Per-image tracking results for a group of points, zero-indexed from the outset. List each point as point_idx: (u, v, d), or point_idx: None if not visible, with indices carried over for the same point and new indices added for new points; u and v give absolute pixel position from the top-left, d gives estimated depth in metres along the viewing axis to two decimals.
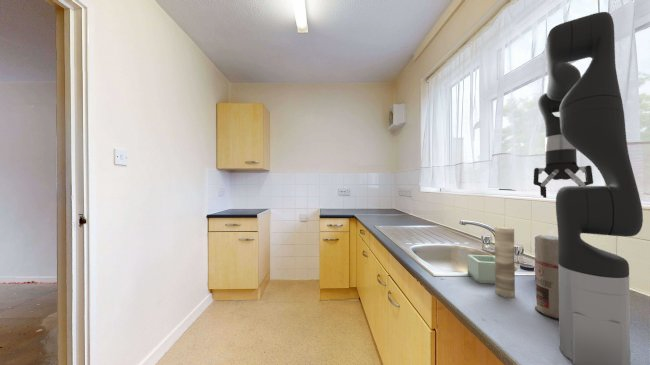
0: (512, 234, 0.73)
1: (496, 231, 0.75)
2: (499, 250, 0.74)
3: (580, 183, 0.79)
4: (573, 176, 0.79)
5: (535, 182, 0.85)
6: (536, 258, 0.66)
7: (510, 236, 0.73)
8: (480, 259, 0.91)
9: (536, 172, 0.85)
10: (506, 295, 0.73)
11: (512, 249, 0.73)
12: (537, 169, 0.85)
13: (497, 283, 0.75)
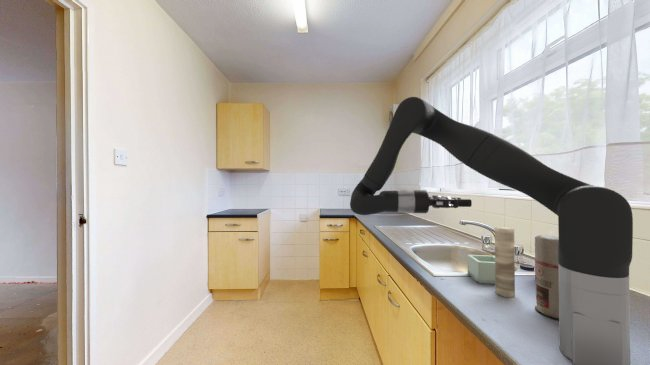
0: (512, 234, 0.73)
1: (496, 231, 0.75)
2: (500, 250, 0.74)
3: None
4: None
5: (454, 199, 0.72)
6: (536, 258, 0.66)
7: (510, 236, 0.73)
8: (480, 259, 0.91)
9: (441, 199, 0.73)
10: (506, 295, 0.73)
11: (512, 249, 0.73)
12: (437, 198, 0.73)
13: (497, 283, 0.75)
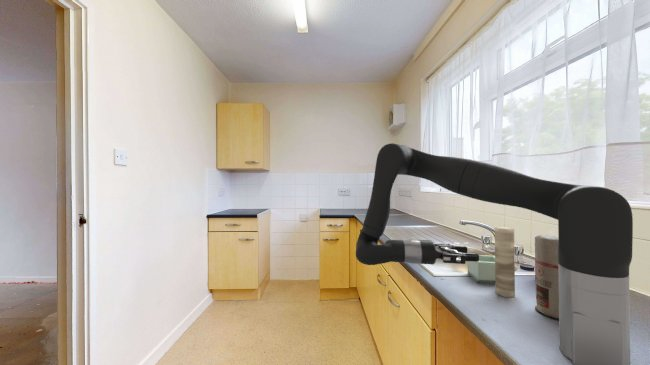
0: (512, 234, 0.73)
1: (496, 231, 0.75)
2: (499, 250, 0.74)
3: (451, 245, 0.82)
4: (445, 245, 0.81)
5: (462, 254, 0.71)
6: (536, 258, 0.66)
7: (510, 236, 0.73)
8: (480, 259, 0.91)
9: (449, 254, 0.72)
10: (506, 295, 0.73)
11: (512, 249, 0.73)
12: (445, 253, 0.73)
13: (497, 283, 0.75)
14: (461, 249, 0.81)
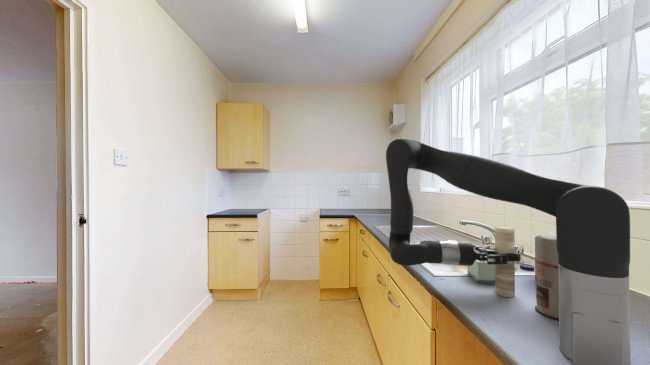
0: (512, 234, 0.73)
1: (497, 231, 0.75)
2: (500, 250, 0.74)
3: (492, 248, 0.78)
4: (484, 246, 0.78)
5: (504, 254, 0.71)
6: (536, 258, 0.66)
7: (510, 236, 0.73)
8: None
9: (493, 255, 0.71)
10: (506, 295, 0.73)
11: (512, 249, 0.73)
12: (489, 255, 0.71)
13: (497, 283, 0.75)
14: None
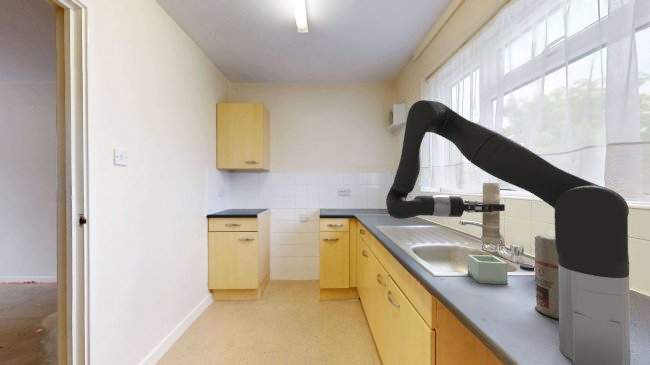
0: (498, 187, 0.81)
1: (484, 185, 0.83)
2: (486, 201, 0.82)
3: None
4: None
5: (490, 204, 0.78)
6: (536, 258, 0.66)
7: (496, 188, 0.81)
8: (480, 259, 0.91)
9: (480, 204, 0.78)
10: (491, 242, 0.81)
11: (497, 200, 0.81)
12: (476, 204, 0.78)
13: (484, 232, 0.83)
14: None
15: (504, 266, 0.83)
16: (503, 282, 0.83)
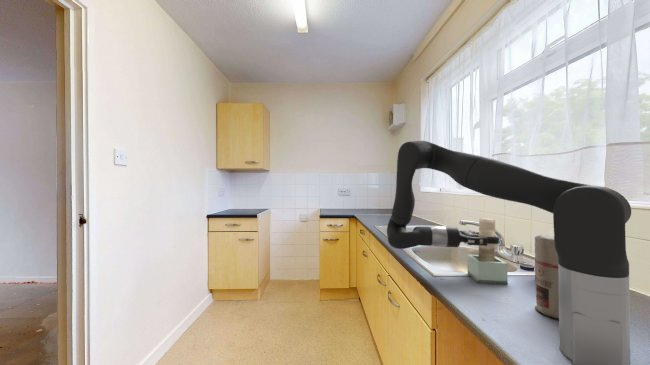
0: (493, 224, 0.86)
1: (480, 221, 0.88)
2: None
3: (473, 231, 0.92)
4: (467, 231, 0.91)
5: (484, 237, 0.82)
6: (536, 258, 0.66)
7: (492, 225, 0.85)
8: None
9: (473, 237, 0.83)
10: None
11: (493, 236, 0.85)
12: (469, 237, 0.83)
13: None
14: None
15: (504, 266, 0.83)
16: (503, 282, 0.83)
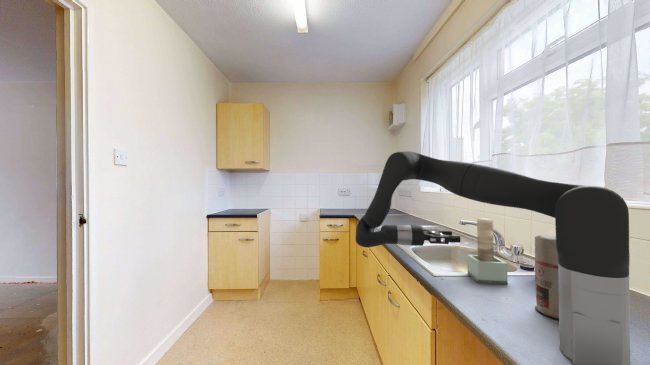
0: (491, 224, 0.85)
1: (478, 221, 0.87)
2: (481, 237, 0.87)
3: (438, 230, 0.94)
4: (433, 229, 0.93)
5: (446, 236, 0.84)
6: (536, 258, 0.66)
7: (489, 226, 0.85)
8: None
9: (434, 236, 0.85)
10: None
11: (491, 237, 0.85)
12: (431, 235, 0.85)
13: None
14: (447, 233, 0.94)
15: (504, 266, 0.83)
16: (503, 282, 0.83)
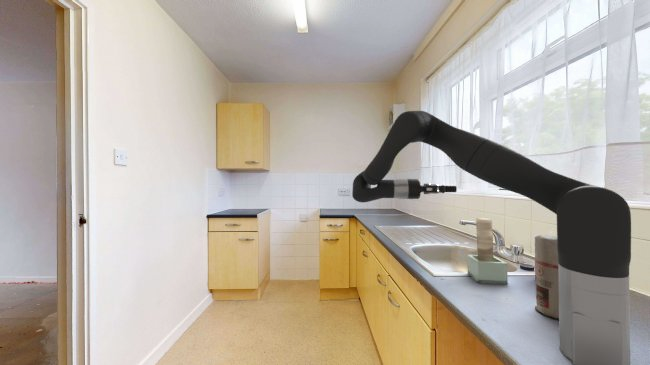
0: (490, 224, 0.86)
1: (477, 221, 0.88)
2: (480, 237, 0.87)
3: None
4: None
5: (442, 185, 0.84)
6: (536, 258, 0.66)
7: (488, 225, 0.85)
8: None
9: (431, 185, 0.85)
10: None
11: (490, 236, 0.85)
12: None
13: None
14: None
15: (504, 266, 0.83)
16: (503, 282, 0.83)
